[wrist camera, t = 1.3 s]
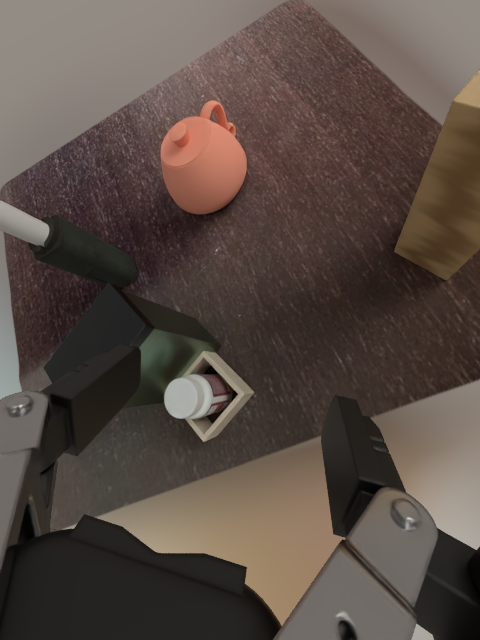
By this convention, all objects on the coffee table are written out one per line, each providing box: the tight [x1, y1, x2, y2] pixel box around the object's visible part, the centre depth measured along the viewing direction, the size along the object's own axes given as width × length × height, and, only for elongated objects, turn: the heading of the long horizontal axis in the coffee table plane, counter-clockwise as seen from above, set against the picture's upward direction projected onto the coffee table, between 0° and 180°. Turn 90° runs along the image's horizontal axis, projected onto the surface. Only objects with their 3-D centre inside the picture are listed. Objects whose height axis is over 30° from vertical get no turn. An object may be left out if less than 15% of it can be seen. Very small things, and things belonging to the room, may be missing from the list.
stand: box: [394, 69, 480, 280], centre depth 20 cm, size 6×6×18 cm
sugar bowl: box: [161, 101, 247, 214], centre depth 37 cm, size 12×14×10 cm
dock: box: [181, 351, 254, 442], centre depth 33 cm, size 7×7×4 cm
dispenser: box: [44, 282, 222, 408], centre depth 30 cm, size 6×10×15 cm, turn 137°
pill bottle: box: [164, 374, 233, 419], centre depth 31 cm, size 5×5×8 cm
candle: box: [0, 200, 138, 289], centre depth 33 cm, size 5×5×25 cm
